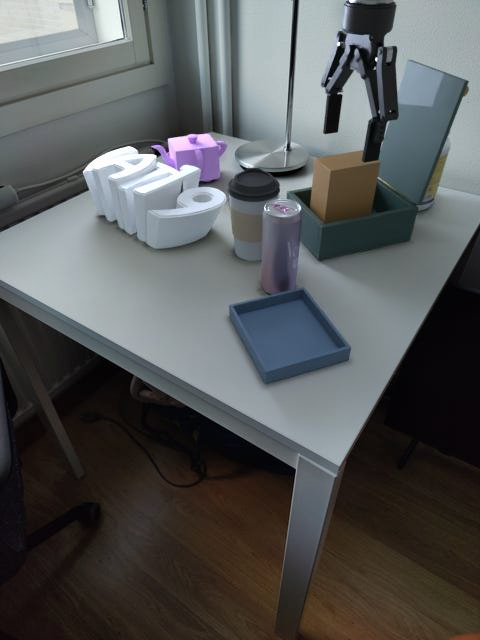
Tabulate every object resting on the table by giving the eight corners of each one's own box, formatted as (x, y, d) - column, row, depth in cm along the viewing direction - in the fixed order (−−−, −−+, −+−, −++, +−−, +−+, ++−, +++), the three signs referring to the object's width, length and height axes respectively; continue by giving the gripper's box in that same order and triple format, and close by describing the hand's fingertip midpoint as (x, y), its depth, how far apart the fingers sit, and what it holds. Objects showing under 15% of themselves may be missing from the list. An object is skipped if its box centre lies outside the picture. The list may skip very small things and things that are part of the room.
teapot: (161, 194, 106) (155, 151, 99) (150, 170, 116) (144, 129, 109) (235, 183, 110) (234, 140, 103) (219, 161, 120) (217, 120, 113)
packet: (367, 231, 91) (380, 162, 82) (322, 241, 88) (330, 170, 79) (351, 217, 95) (362, 149, 86) (308, 226, 93) (314, 157, 83)
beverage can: (277, 272, 83) (281, 194, 73) (302, 286, 79) (310, 207, 69) (253, 286, 80) (254, 207, 70) (279, 302, 76) (284, 221, 66)
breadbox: (318, 261, 85) (322, 227, 81) (284, 222, 96) (286, 191, 91) (410, 240, 90) (418, 207, 86) (368, 206, 101) (374, 175, 96)
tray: (348, 359, 66) (351, 347, 65) (265, 384, 63) (265, 372, 61) (302, 298, 77) (304, 286, 75) (229, 316, 74) (228, 304, 72)
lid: (465, 80, 72) (494, 82, 74) (407, 59, 83) (434, 61, 85) (417, 205, 85) (443, 204, 87) (373, 173, 96) (397, 172, 98)
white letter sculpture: (78, 201, 104) (66, 154, 97) (140, 179, 112) (133, 135, 105) (170, 266, 84) (163, 214, 77) (237, 233, 93) (236, 184, 86)
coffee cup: (278, 264, 84) (282, 187, 75) (228, 264, 85) (226, 187, 75) (275, 238, 91) (279, 164, 81) (230, 238, 91) (228, 164, 81)
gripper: (308, -10, 75) (298, 125, 89) (399, 15, 57) (368, 178, 71) (349, -12, 77) (333, 120, 91) (449, 11, 59) (409, 170, 73)
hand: (349, 146), depth 81 cm, fingers open, 13 cm apart
